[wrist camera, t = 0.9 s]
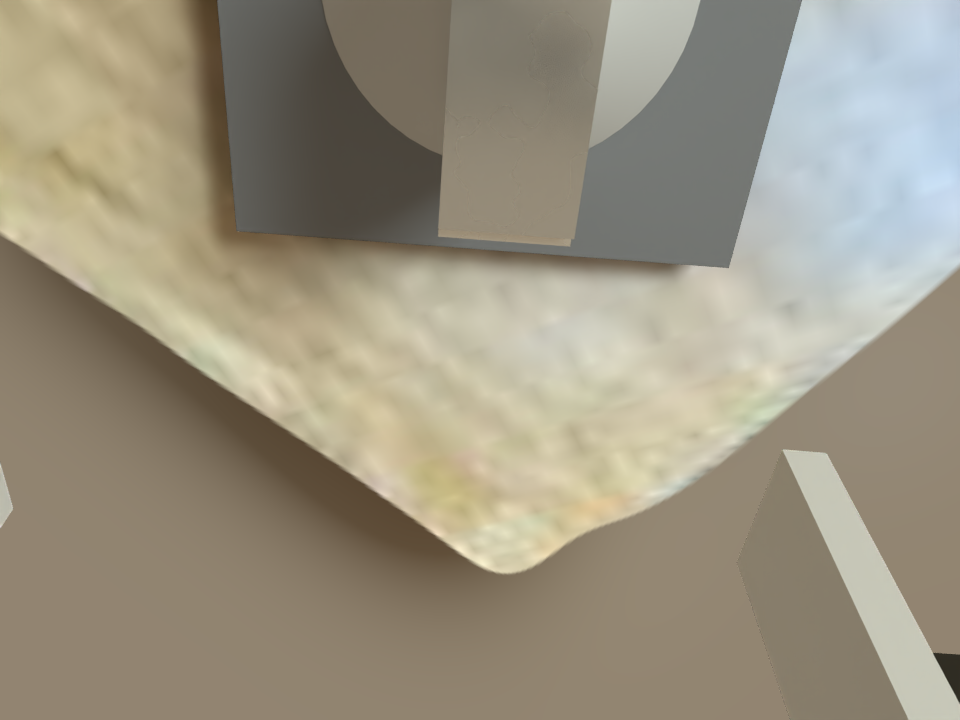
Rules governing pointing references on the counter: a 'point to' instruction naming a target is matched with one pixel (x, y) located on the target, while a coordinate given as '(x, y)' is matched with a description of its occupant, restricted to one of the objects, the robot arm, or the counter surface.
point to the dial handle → (519, 117)
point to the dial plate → (421, 117)
